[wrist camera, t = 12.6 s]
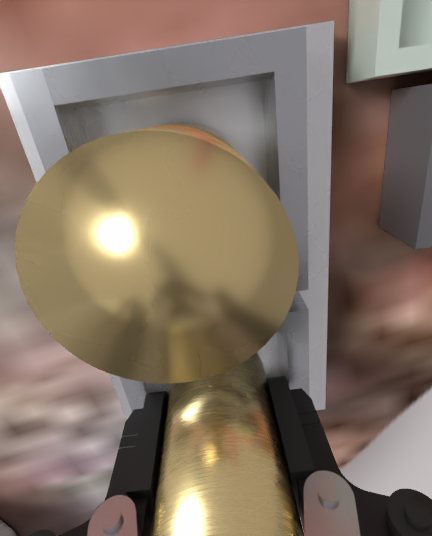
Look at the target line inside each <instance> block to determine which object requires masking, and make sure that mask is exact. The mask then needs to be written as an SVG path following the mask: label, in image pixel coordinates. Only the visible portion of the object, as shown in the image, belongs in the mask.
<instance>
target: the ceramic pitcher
mask: <svg viewBox="0 0 432 536" xmlns="http://www.w3.org/2000/svg"><path fill="white" fill-rule="evenodd" d="M0 536H17V535H16V534H15V532H14V531H13V530H12V529H11V528H10V527H9V526H7V525H6V524H5V523H4V522H2V521H1V520H0Z"/></svg>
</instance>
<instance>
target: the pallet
mask: <svg viewBox="0 0 432 536" xmlns="http://www.w3.org/2000/svg"><path fill="white" fill-rule="evenodd" d="M333 53H334V21H328V22H321V23H315V24H309V25H302V26H296V27H290V28H283V29H277V30H271V31H264V32H258V33H252V34H245V35H239V36H233V37H227V38H220V39H214V40H208V41H201V42H195V43H189V44H182V45H176V46H170V47H163V48H157V49H151V50H144V51H138V52H132V53H125V54H119V55H113V56H106V57H100V58H94V59H87V60H81V61H75V62H68V63H62V64H56V65H49V66H43V67H37V68H31V69H24V70H18V71H12V72H5V73H0V87H1V89H2V92H3V95H4V97H5V100H6V102H7V105H8V108H9V110H10V113H11V116H12V118H13V121H14V124H15V126H16V129H17V132H18V134H19V137H20V139H21V142H22V145H23V147H24V150H25V153H26V155H27V158H28V161H29V163H30V166H31V168H32V171H33V174H34V176H35V179H36V182H38V181H39V180H40V178H41V177H42V176H43V175H44V174H45V173H46V171H47V170H48V169H49V168H50V167H52V166H53V165H54V164H55V163H56V162H57V161H59V160H60V159H61V158H62V157H63V156H65V155H67V154H68V153H70V152H71V151H73V150H75V149H76V148H78V147H80V146H82V145H84V144H86V143H89V142H91V141H94V140H96V139H98V138H101V137H105V136H109V135H113V134H117V133H121V132H127V131H132V130H138V129H143V128H149V127H154V126H160V125H165V124H171V123H178V122H191V123H196V124H201V125H203V126H206V127H208V128H210V129H212V130H214V131H216V132H217V133H219V134H220V135H221V136H223V137H224V138H225V139H226V140H227V141H228V142H229V143H230V144H231V145H232V146H233V147H234V149H235V150H236V151H237V152H238V153H239V154H240V155H241V156H242V157H243V158H244V159H245V160H246V161H247V162H248V163H249V164H250V166H251V167H252V168H253V169H254V170H255V171H256V172H257V173H258V174H259V175H260V176H261V177H262V178H263V179H264V181H265V182H266V183H267V184H268V185H269V187H270V188H271V189H272V190H273V192H274V193H275V194H276V196H277V197H278V199H279V201H280V202H281V204H282V205H283V207H284V209H285V210H286V213H287V215H288V217H289V220H290V222H291V224H292V227H293V231H294V234H295V238H296V242H297V248H298V257H299V272H298V282H297V287H296V293H295V296H294V299H293V302H292V305H291V307H290V309H289V312H288V314H287V316H286V318H285V320H284V321H283V323H282V324H281V326H280V327H279V329H278V330H277V332H276V333H275V334H274V336H273V337H272V338H271V339H270V340H269V341H268V342H267V344H266V345H264V346H263V347H262V348H261V349H260V350H259V351H258V352H257V354H258V355H259V356H260V358H261V360H262V363H263V367H264V371H265V375H266V379H267V378H270V377H278V376H286V378H287V381H288V385H289V388H290V390H292V389H300V388H302V389H303V390H304V391H305V392H306V393H307V394H308V395H309V397H310V398H311V399H312V401H313V404H314V406H315V409H316V410H323V409H325V404H326V360H327V316H328V272H329V228H330V184H331V141H332V97H333ZM109 374H110V373H109ZM110 377H111V380H112V382H113V385H114V388H115V390H116V393H117V396H118V398H119V401H120V404H121V406H122V409H123V411H124V414H125V417H126V419H128V418H129V416H130V415H131V413H132V412H133V410H134V409H141V408H143V406H144V401H145V396H146V394H147V393H152V392H160V391H166V392H167V394H168V393H169V385H170V384H167V383H148V382H140V381H135V380H130V379H126V378H122V377H119V376H116V375H113V374H110Z"/></svg>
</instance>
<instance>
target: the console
mask: <svg viewBox="0 0 432 536" xmlns="http://www.w3.org/2000/svg"><path fill="white" fill-rule="evenodd" d="M379 227H380V228H382V229H383V230H385V231H387V232H388V233H390V234H391V235H393V236H395V237H396V238H398V239H400V240H401V241H403V242H404V243H406V244H408V245H409V246H411V247H412V248H414V249H422V248H429V247H432V84H427V85H421V86H414V87H408V88H401V89H395V90H392V92H391V102H390V113H389V124H388V134H387V145H386V155H385V166H384V177H383V187H382V198H381V208H380V219H379Z"/></svg>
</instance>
